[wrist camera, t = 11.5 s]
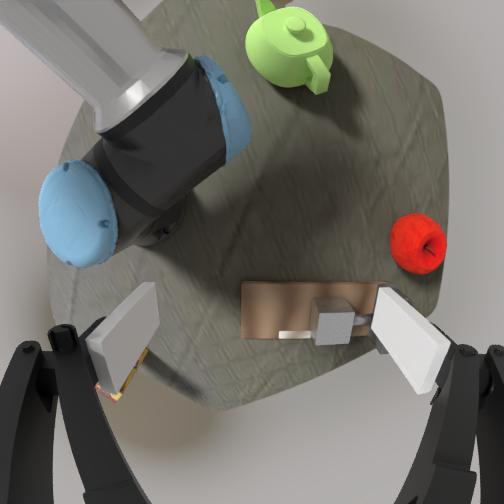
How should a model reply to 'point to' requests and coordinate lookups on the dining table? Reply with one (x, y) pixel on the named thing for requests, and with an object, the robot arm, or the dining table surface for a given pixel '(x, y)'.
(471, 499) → the robot arm
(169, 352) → the dining table surface
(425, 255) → the apple
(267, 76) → the teapot
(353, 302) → the rail
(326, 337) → the grey slider block
